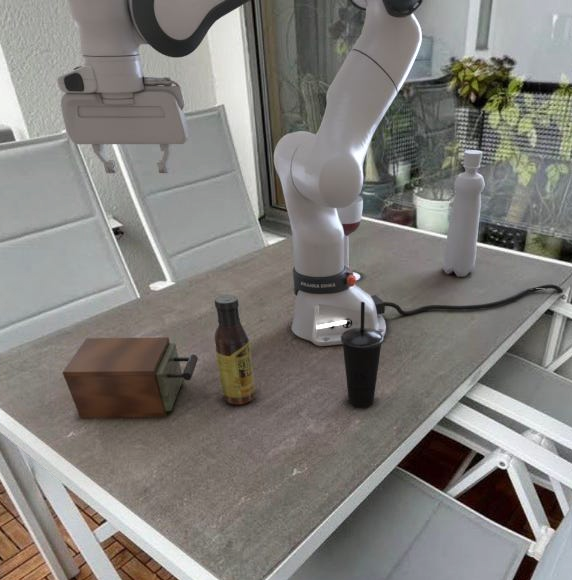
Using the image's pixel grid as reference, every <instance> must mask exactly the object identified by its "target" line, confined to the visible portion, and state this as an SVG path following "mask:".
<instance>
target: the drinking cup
mask: <svg viewBox="0 0 572 580" xmlns="http://www.w3.org/2000/svg"><path fill="white" fill-rule="evenodd" d="M364 319H365V302H361V327H360V328H353V329H350V330H347V331H345V332H344V333H343V334H342V335H341V341H342V343H343V344H342V348H343V350H342V351H343V358H344V367H345V377H346V378H345V380H346V388H347V397H348V404H349V405H350V406H351V407H353V408H356V409H366V408H370V407H371V406H373V405H374V399H375V395H376V394H375V393H376V386H377V379H378V372H379V364H380V358H381V350H382V344H383V342H384V337H383V335H382V334H381V333H380V332H379V331H377V330H374V329H370V328H364Z"/></svg>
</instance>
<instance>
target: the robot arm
mask: <svg viewBox="0 0 572 580" xmlns="http://www.w3.org/2000/svg"><path fill="white" fill-rule="evenodd" d="M250 1H251V0H67V3H68V8H69V11H70V15H71V18H72V21H73V23H74V26H75V27H76V30H77V33H78V35H79V36H78V37H79V41H80V54H81V57H82V62H83V65H80V66H76V67H74V68H73V70H70V71H68V72H66V73H63V74H61V75H59V76H58V77H57V80H56V81H57V85H58V88H59V90H60V91H61V92H62V93H64V94H63V95H62V96H61V98H60V109H61V115H62V120H63V124H64V129H65V132H66V136H67V138H68V139H69V140H70V141H71V142H72V143H73V144H74V145H91V147H92V150H93V153H94V154H95V155H96V157H98V159H99V161H101V162H102V163H103V167H104V172H105V173H106V174H116V173H117V172H118V171H117V170H118V169H117V167H116V162H115V159H114V160H112V159H111V160H110V158H109V156H107V154H106V153H105V152H104V150H105V149H106V147H105V145H159V148H160V151H161V152H164V153H163V155H162V158H161V159H160V160H158V161H157V162H156V165H157V168H158V174H169V173H170V167H169V162H168V161H169V158H170V156H171V152H172V145H184V144H185V143H186V142H187V141H188V139H189V137H190V130H189V126H188V121H187V118H186V114H185V111H184V107H185V98H184V92H183V89H182V87H181V85H180V84H179V83H178V82H177V81H175V80H172V78H171V77H167V76H165V77H153V76H150V77H148V76H145V73H144V69H143V64H142V59H141V54H140V46H142V45H148V46H150V47H151V48H152V49H153V50H155V52H157V53H159V54H161V55H164V56H166V57H168V58H175V59H176V58H183V57H187V56H189V55H191V54H192V53H193V52H194V51H196V49H197V48H199V46H200V45H201V44H202V42H203V40H204V39H205V37H206V35H207V34H208V32H209V30H210V29H211V28H212V27H213V25H214V24H215V23H216V22H217V21H218V20H220V19H221V18H223V17H224V16H226V15H228V14H230V13H231V12H233V11H235V10H237V9H238V8H240V7H242V6H243V5H245V4H247V3H249V2H250ZM346 1H347V3H349V4H350V5H351V6H352V7H354V8H356V9H358V10H361V11H364V12H365V17H364V18H365V19H364V23H363V27H362V29H361V32H360V35H359V37H358V38H357V39H356V41H355V42H354V44H353V45H352V48H351V49H350V51H349V53H348V54H347V56H346V58H345V60H344V61H343V63H342V64H341V66H340V68H339V70H338V72H337V73H336V75H335V77H334V79H333V80H332V82H331V84H330V85H329V87H328V89H327V91H326V98H325V100H326V106H325V111H324V114H323V116H322V120H321V123H320V126H319V128H318V130H317V132H316V133H313V132H310V131H307V130H300V131H293V132H289V133H287V134H285V135H284V136H282V137H281V138H280V139H279V140H278V142H277V143H276V146H275V148H274V152H273V165H274V168H275V171H276V173H277V175H278V178H279V180H280V184H281V188H282V194H283V198H284V202H285V206H286V211H287V215H288V219H289V224H290V230H291V238H292V247H293V251H292V252H293V264H294V266H293V267H292V287H293V292H294V297H295V299H294V312H293V319H292V323H291V327H290V328H291V331H292V333H293V334H294V335H295V336H296V337H298V338H300V339H302V340H303V339H304V340H306V341H308V342H309V341H310V342H311V343H312V344H314V345H315V346H318V347H326V346H327V347H328V346H336V345H337V346H338V345H343V343H342V341H341V335H342V334H343V333H344V332H345V331H347V330H350V329H353V328H360V327H361V302H365V319H364V328H370V329H374V330H377V331H379V332H380V333H381V334H382V335H383V338H384V337H385V336H386V333H387V325H386V324H387V323H386V321H385V318H384V316H383V315H382V314H385V312H386V311H385V310H386V307H389V308H394V309H395V310H396V311H397V312H398V313H399V315H402V316H411V315H416V314H419V313H422V312H424V311H429V310H449V311H453V310H454V311H464V310H467V311H468V310H479V309H480V310H481V309H488V308H493V307H497V306H500V305H505V304H506V303H509V302H512V301H514V300H517V299H519V298H521V297H522V296H524V295H526V294H529V293H533V292H537V291H543V289H536V288H545V289H544V290H547V289H548V290H549V289H553V290H555V291H557V292H558V293H563V289H562V288H561V287H560V286H559V285H556V284H551V283H550V284H542V285H538V286H534V287H529V288H526V289H524V290H521V291H520V292H518V293H517V294H514V295H511V296H509V297H506V298H503V299H501V300H497V301H493V302H488V303H481V304H480V303H479V304H468V305H466V304H465V305H451V304H450V305H449V304H448V305H447V304H429V305H424V306H421V307H418V308H416V309H413V310H403V309H402V307H401V306H400V305H398V304H397V303H394V302H390V301H384V300H383V299H381V298H380V297H379V296H378V295H376V294H374V295H370V294H369V293H368V292H366V291H365V290H364V289H362V288H361V287H359V285H356V283H357V280H356V278H355V276H354V275H353V272H354V271H353V270H352V267H351V266H350V265H349V268H348V267H346V264H345V234H344V230H343V226H342V224H341V222H340V219H339V216H338V213H337V209H341V208H345V207H348V206H349V205H351V204H352V203H353V202H354V201H355V200H356V199H357V197H358V196H360V195H361V192H362V189H363V185H364V169H363V168H364V163H365V159H366V155H367V152H368V149H369V146H370V144H371V141H372V139H373V136H374V134H375V132H376V130H377V128H378V127H379V125H380V123H381V122H382V120H383V118H384V117H385V115H386V113H387V112H388V110H389V108H390V106H391V105H392V103H393V102H394V100H395V99H396V97H397V95H398V93H399V91H400V90H401V88H402V87H403V85H404V83H405V81H406V79H407V78H408V75H409V73H410V72H411V69H412V68H413V65H414V63H415V61H416V58H417V57H418V53H419V51H420V48H421V45H422V41H423V40H422V39H423V34H422V33H423V32H422V29H421V24H420V23H419V21H418V19H417V18H416V16H415V14H414V13H416V11H418V10H419V9H420V8H421V6H422V4H423V1H424V0H346ZM531 289H532V290H531Z"/></svg>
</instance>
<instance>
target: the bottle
mask: <svg viewBox="0 0 572 580" xmlns="http://www.w3.org/2000/svg"><path fill="white" fill-rule="evenodd" d="M483 152H484V151H481V150H476V149H468V150H465V151H464V155H463V156H464V157H463V165H462V167H464V170H465V171H464V172H461V173H459V174H458V175H457V176H456V177H455V180H454V182H453V189H454V192H455V193H454V196H453V200H452V204H451V211H450V216H449V223H448V229H447V235H446V241H445V246H444V250H443V256H442V264H441V265H442V268H443V270H444V272H445V274H447V275H451V274H453V273H454V274H455V275H456V277H459V278H460V277H466V276H468V274H469V273H471V272H472V271H473V270H474V269H475V265H476V264H475V263H476V258H477V252H478V251H477V249H478V248H477V247H478V246H477V245H478V234H479V225H480V216H481V206H482V201H481V200H482V196H481V195H482V192H483V191H484V188H485V186H486V183H485V179H484V176H483V175H482V174H481V173H478V170H479V169H480V168H481V167H482V166H481V162H482V158H483V154H484V153H483Z"/></svg>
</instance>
